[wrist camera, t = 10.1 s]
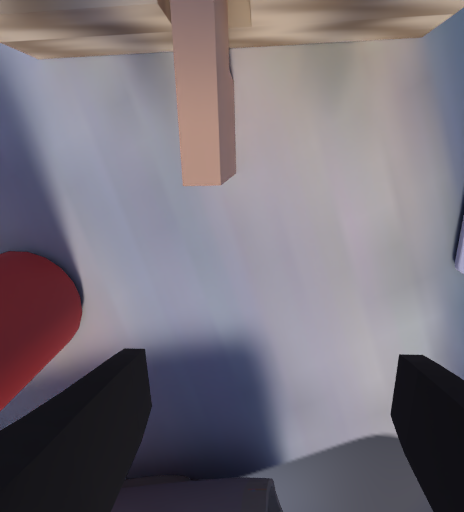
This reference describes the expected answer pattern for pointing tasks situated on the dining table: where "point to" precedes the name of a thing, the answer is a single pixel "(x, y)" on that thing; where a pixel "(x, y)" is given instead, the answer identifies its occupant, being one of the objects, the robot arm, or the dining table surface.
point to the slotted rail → (239, 24)
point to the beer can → (32, 318)
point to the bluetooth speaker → (197, 495)
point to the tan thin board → (204, 91)
